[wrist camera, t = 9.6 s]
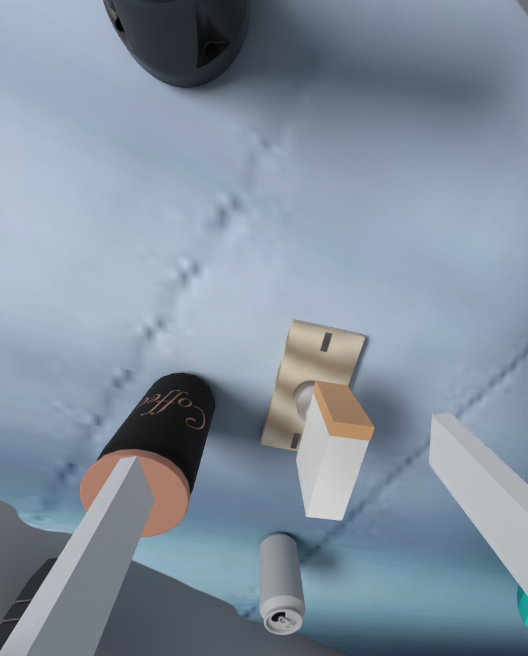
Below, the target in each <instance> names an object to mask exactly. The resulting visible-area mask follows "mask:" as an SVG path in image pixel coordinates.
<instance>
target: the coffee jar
mask: <svg viewBox="0 0 528 656" xmlns="http://www.w3.org/2000/svg"><path fill="white" fill-rule="evenodd" d="M214 409H215V400H214V396H213V394H212V392H211V390H210V388H209V387H208V386H207V385H206V384H205V383H204V382H203V380H201V379H199V378H197V377H195V376H194V375H189V374H185V373H173V374H170V375H167V376H164V377H161V378H160V379H159V380H158V381H156V382H155V383H154V384H153V385H152V387H151V388H150V389H149V390H148V392H147V393H146V394H145V396H144V397H143V398H142V400H141V401H140V402H139V403H138V405H137V406H136V407H135V409H134V410H133V411H132V413H131V414H130V415H129V417H128V418H127V419H126V420H125V422H124V423H123V424H122V426H121V427H120V428H119V430H118V431H117V432H116V433H115V435H114V436H113V437H112V439H111V440H110V441H109V443H108V444H107V445H106V446H105V448H104V449H103V451H102V452H101V454H100V456H99V458H98V459H97V461H96V462H95V463H94V464H93V465H92V466H91V467H90V468H89V469H88V471H87V472H86V474H85V476H84V477H83V479H82V481H81V487H80V498H81V501H82V504H83V507H84V509H85V510H86V511H88V510H89V508H90V506H91V505H92V503H93V502H94V500H95V498H96V497H97V495H98V494H99V492H100V490H101V489H102V487H103V486H104V484H105V482H106V481H107V479H108V478H109V476H110V474H111V473H112V471H113V470H114V468H115V466H116V465H117V463H118V462H119V460H120V458H127V457H134V456H137V457H138V460H139V462H140V465H141V467H142V470H143V472H144V475H145V477H146V480H147V482H148V485H149V487H150V490H151V492H152V495H153V497H154V499H155V501H154V504H153V506H152V509H151V511H150V514H149V516H148V519H147V521H146V524H145V526H144V529H143V531H142V534H141V537H152V536H155V535H159V534H162V533H165V532H167V531H169V530H170V529H172V528H173V527H175V526H177V525H178V524H179V522H180V521H181V520H182V518H183V517H184V516H185V514H186V512H187V508H188V504H189V500H190V494H191V493H192V491H193V487H194V483H195V480H196V476H197V472H198V468H199V465H200V461H201V457H202V454H203V450H204V446H205V443H206V439H207V435H208V431H209V428H210V424H211V420H212V417H213V413H214Z"/></svg>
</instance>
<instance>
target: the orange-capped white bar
mask: <svg viewBox="0 0 528 656" xmlns="http://www.w3.org/2000/svg"><path fill="white" fill-rule="evenodd" d="M305 414H306V418H307V419H306V423H305V427H304V431H303V435H302V438H301V442H300V446H299V450H298V454H297V458H296V462H297V468H298V474H299V479H300V485H301V490H302V496H303V502H304V507H305V513H306V517H314V518H323V519H332V520H341V521H342V519H343V516H344V513H345V510H346V507H347V505H348V502H349V499H350V496H351V493H352V490H353V487H354V484H355V481H356V478H357V476H358V473H359V470H360V467H361V464H362V461H363V458H364V455H365V452H366V449H367V447H368V444H369V441H370V440H371V437H372V435H373V432H374V429H375V426H374V425H373V423H372V422H371V420H370V419H369V417H368V416H367V414H366V413H365V411H364V410H363V408H362V406H361V405H360V403H359V402H358V400H357V399H356V397H355V396H354V394H353V393H352V391H351V390H350V388H349V386H348V385H343V384H336V383H330V382H323V381H316V382H315V385H314V389H313V395H312V399H311V403H309V404H308V405H307V406H306V408H305Z"/></svg>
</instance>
